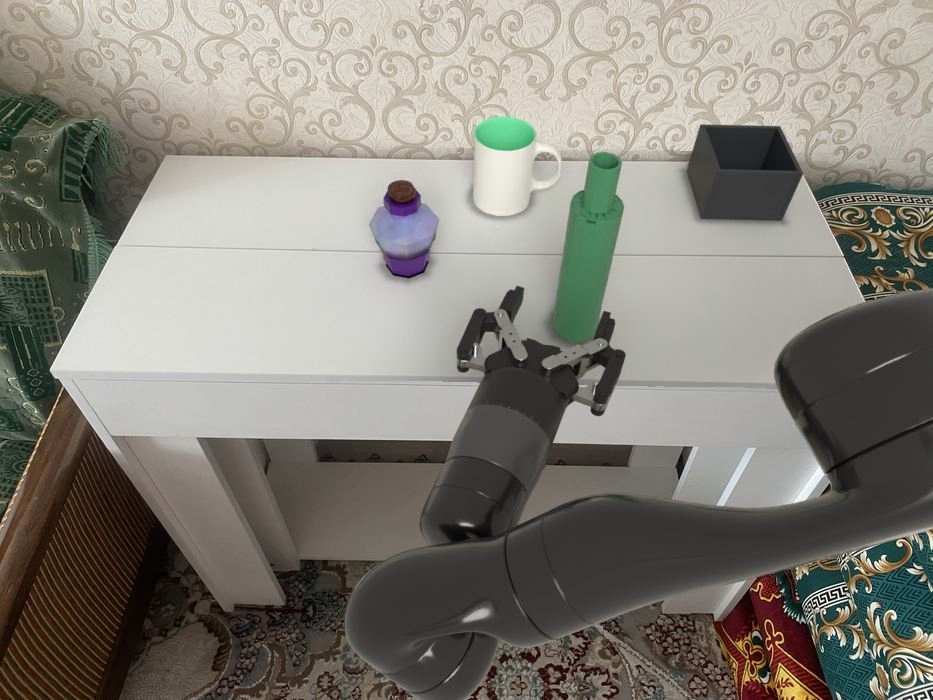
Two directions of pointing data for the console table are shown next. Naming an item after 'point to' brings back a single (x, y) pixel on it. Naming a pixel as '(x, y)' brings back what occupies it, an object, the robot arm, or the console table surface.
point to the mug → (507, 165)
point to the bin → (743, 172)
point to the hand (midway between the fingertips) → (562, 304)
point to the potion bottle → (404, 230)
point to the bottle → (588, 250)
